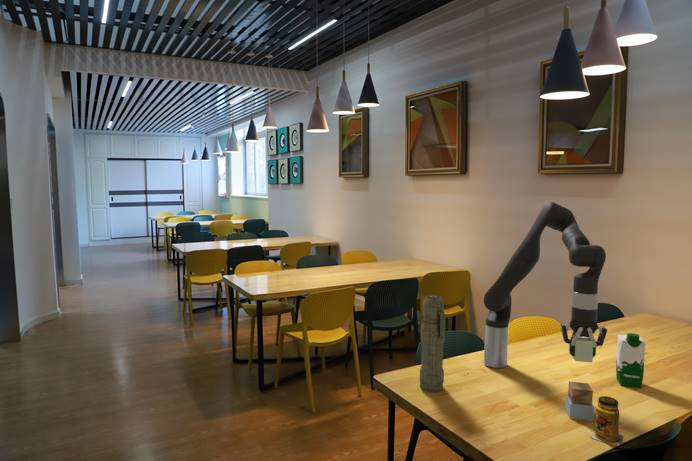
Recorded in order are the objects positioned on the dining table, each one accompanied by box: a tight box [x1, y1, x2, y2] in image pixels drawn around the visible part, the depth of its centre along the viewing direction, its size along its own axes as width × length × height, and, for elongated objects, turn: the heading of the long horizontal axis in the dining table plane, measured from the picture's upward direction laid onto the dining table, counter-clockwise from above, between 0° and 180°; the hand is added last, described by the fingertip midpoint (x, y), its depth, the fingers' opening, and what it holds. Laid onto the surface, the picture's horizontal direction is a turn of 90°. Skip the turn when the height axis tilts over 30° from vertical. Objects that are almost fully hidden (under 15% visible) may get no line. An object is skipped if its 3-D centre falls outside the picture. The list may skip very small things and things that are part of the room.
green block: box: [571, 336, 594, 363], centre depth 152 cm, size 5×5×7 cm
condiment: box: [590, 395, 625, 447], centre depth 139 cm, size 7×8×12 cm
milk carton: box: [615, 332, 646, 389], centre depth 179 cm, size 9×9×20 cm
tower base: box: [564, 394, 595, 422], centre depth 153 cm, size 7×7×5 cm
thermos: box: [419, 294, 447, 393], centre depth 173 cm, size 9×12×35 cm
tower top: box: [567, 381, 594, 406], centre depth 153 cm, size 6×6×5 cm
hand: (582, 356), depth 152 cm, fingers closed on green block, 5 cm apart
